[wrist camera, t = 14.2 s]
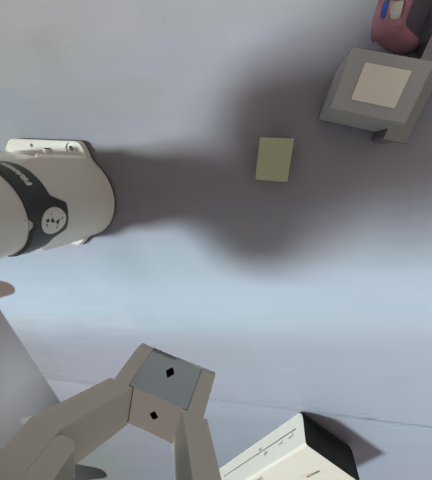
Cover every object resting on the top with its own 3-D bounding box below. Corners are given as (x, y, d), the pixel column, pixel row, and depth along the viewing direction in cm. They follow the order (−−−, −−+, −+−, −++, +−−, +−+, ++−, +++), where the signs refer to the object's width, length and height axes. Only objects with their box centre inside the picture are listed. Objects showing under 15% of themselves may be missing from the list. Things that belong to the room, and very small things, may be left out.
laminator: (302, 408, 46) (306, 443, 40) (354, 445, 46) (365, 485, 40) (212, 471, 59) (206, 504, 54) (252, 500, 59) (250, 536, 53)
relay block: (257, 177, 34) (255, 179, 30) (261, 140, 32) (259, 136, 28) (285, 179, 33) (287, 182, 29) (291, 141, 31) (294, 138, 27)
